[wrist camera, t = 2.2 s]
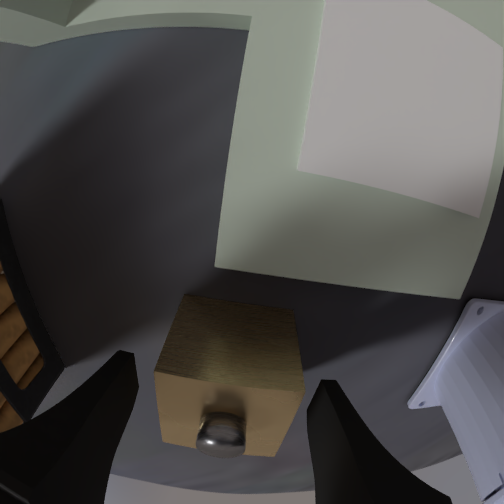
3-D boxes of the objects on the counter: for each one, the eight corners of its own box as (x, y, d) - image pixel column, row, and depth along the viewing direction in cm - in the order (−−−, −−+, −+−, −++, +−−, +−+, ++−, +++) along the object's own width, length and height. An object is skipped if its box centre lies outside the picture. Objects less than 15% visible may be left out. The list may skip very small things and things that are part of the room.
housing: (292, 308, 12) (308, 417, 7) (272, 380, 14) (274, 476, 9) (184, 293, 12) (144, 395, 7) (182, 367, 14) (158, 461, 9)
